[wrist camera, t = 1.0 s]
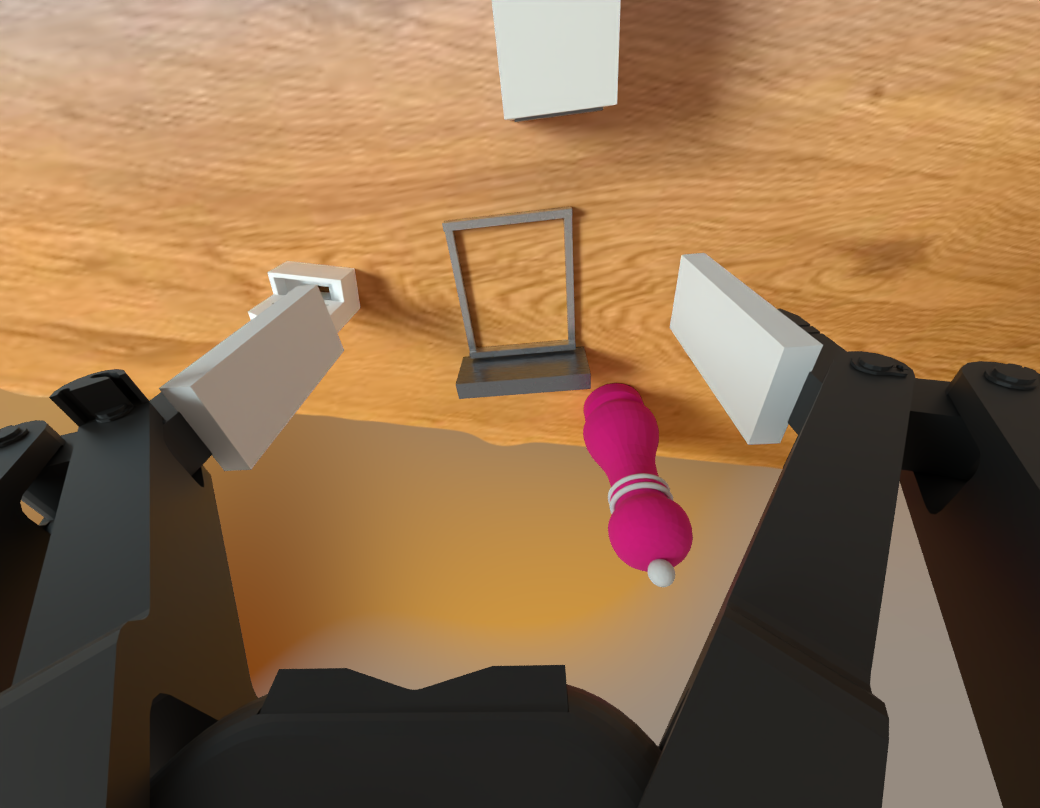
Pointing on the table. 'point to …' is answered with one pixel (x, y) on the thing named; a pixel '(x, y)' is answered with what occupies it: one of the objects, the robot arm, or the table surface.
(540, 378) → the rail plate
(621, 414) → the pepper mill
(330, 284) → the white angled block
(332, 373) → the table surface
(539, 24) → the block
